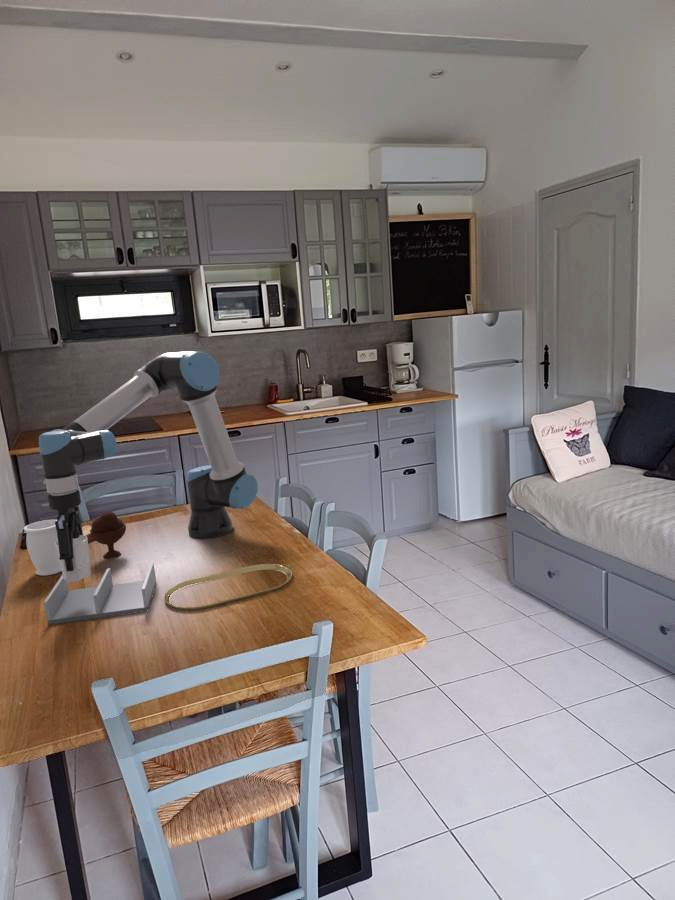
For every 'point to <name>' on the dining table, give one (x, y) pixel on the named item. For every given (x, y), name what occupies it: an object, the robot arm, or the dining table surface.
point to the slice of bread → (87, 532)
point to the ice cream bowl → (108, 532)
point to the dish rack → (99, 599)
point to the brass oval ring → (228, 574)
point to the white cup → (78, 557)
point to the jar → (43, 546)
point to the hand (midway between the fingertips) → (77, 575)
